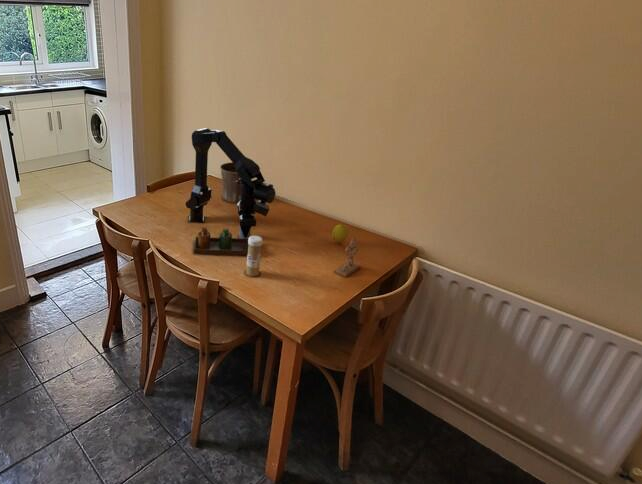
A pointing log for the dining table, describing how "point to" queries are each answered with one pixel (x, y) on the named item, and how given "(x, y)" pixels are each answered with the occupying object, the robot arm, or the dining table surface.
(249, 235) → the blue bottle
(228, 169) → the plant pot
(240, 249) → the tray
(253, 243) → the sprinkles bottle
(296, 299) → the dining table surface
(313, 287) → the dining table surface
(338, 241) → the lemon
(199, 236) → the amber bottle
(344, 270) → the grey statuette
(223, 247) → the green bottle
